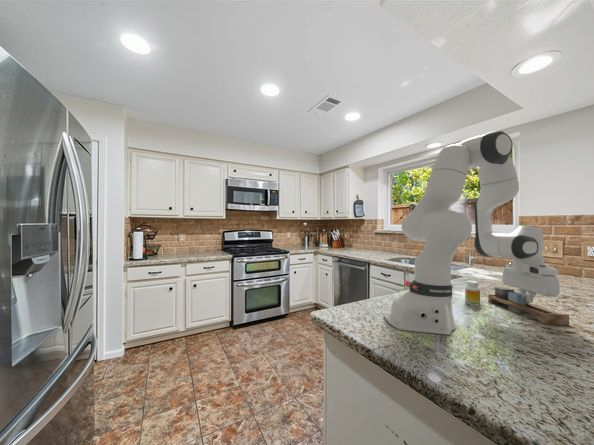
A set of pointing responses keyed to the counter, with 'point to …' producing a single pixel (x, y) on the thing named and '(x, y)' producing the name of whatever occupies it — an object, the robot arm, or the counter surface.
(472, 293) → the supplement bottle
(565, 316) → the beam
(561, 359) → the counter surface
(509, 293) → the block
